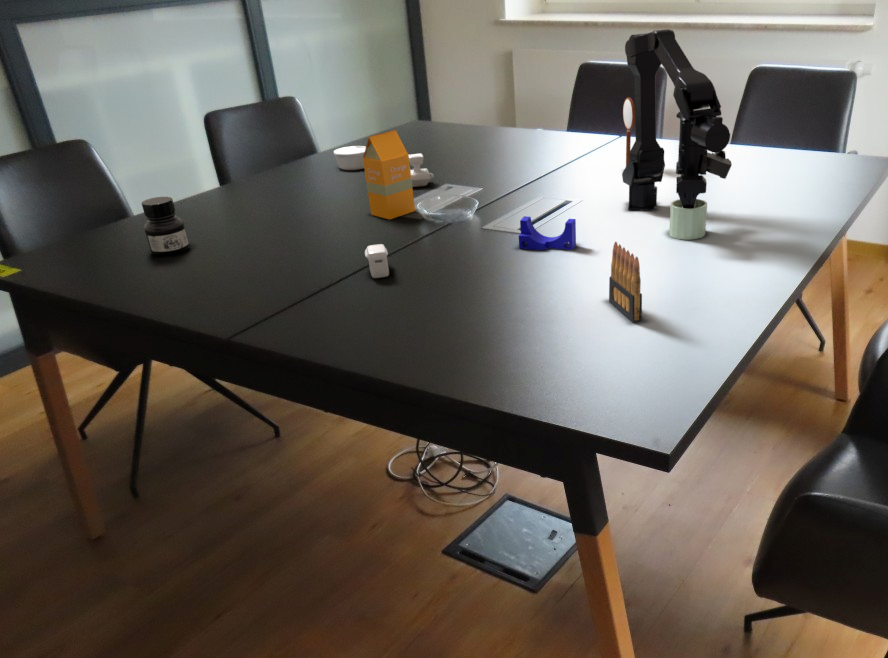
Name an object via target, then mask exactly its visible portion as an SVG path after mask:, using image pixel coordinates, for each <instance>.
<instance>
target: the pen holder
mask: <svg viewBox="0 0 888 658" xmlns="http://www.w3.org/2000/svg"><path fill="white" fill-rule="evenodd" d="M669 208H670V210H669V231H668V232H669V236H670V237H671V238H674V239H677V240H685V241H687V240H690V241H691V240H697V239H702V238H704V237H705V235H706V229H707V214H708V202H707V201H706V200H703V199H700V198H696V204H695V208H682V203H681V201H680V198H679V199H675V200H673V201H671V202H670V207H669Z"/></svg>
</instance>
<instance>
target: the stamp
mask: <svg viewBox="0 0 888 658" xmlns="http://www.w3.org/2000/svg"><path fill="white" fill-rule="evenodd" d="M408 155H409V163H410V166H412V167H413V169H410V172H411V178H412V186H413V188H418V187H426V186H428V184H429V182H430V180H432V179H434V177H435V175H434V173H432V172H430V171H429V170H428V168H427V167H425V168H421V166H422V165H424V155H423V154H422V153H411V154H408Z"/></svg>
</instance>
